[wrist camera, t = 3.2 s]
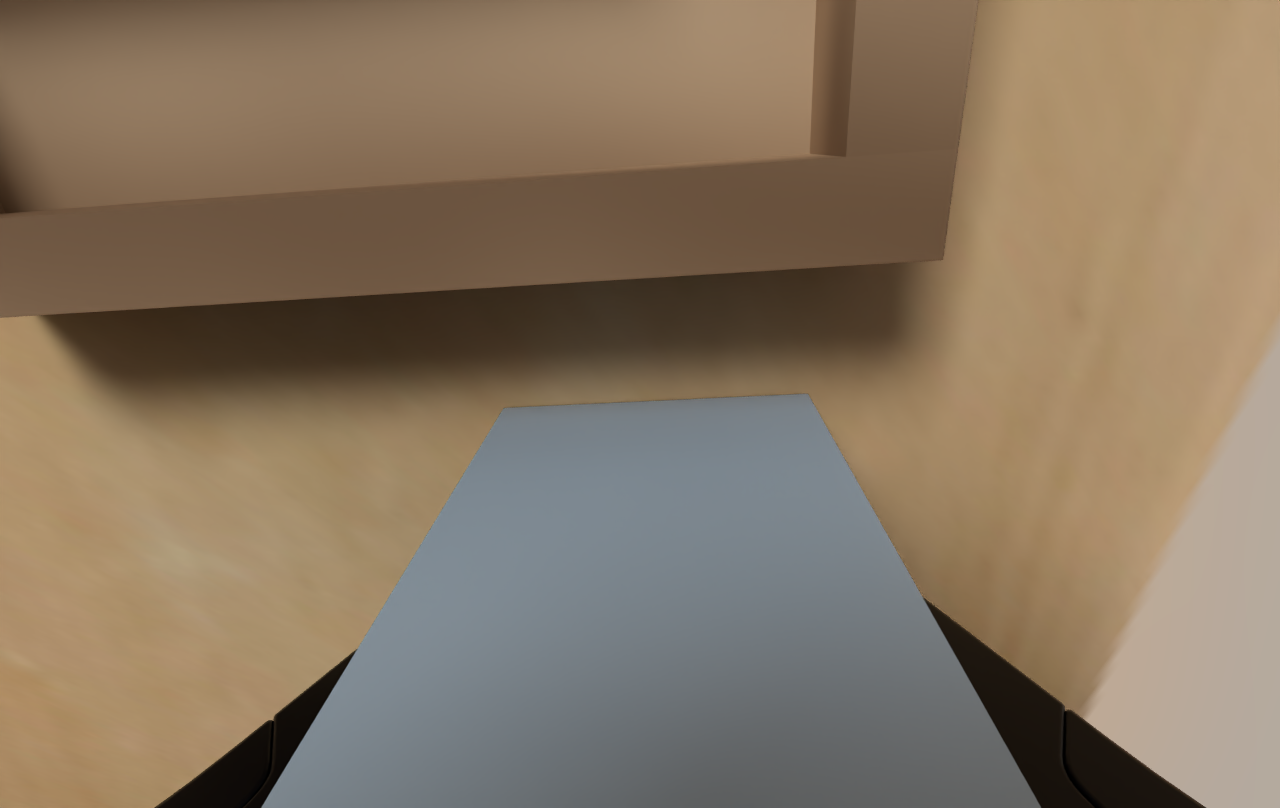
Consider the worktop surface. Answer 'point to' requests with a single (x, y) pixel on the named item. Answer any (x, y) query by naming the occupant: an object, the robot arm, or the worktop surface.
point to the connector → (655, 634)
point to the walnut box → (464, 143)
